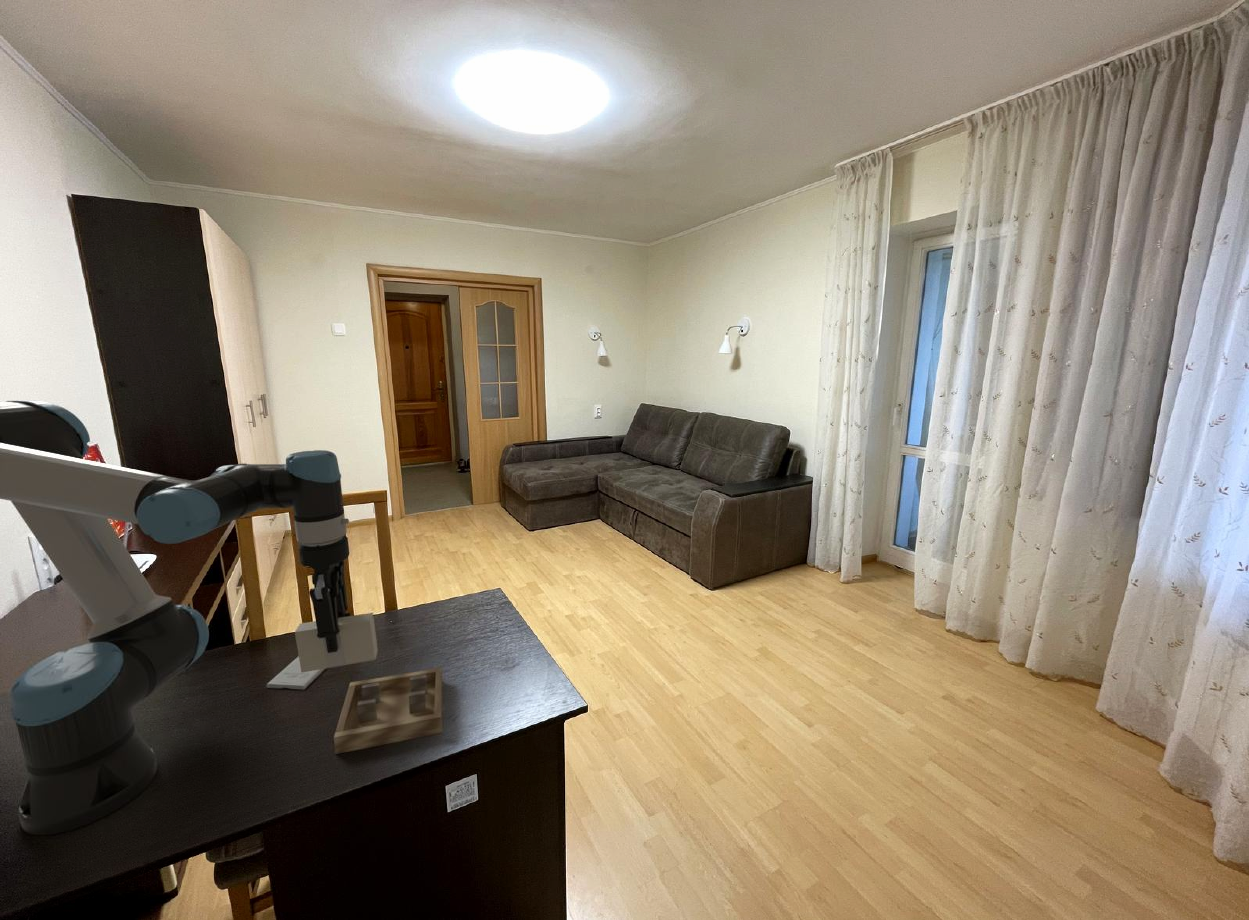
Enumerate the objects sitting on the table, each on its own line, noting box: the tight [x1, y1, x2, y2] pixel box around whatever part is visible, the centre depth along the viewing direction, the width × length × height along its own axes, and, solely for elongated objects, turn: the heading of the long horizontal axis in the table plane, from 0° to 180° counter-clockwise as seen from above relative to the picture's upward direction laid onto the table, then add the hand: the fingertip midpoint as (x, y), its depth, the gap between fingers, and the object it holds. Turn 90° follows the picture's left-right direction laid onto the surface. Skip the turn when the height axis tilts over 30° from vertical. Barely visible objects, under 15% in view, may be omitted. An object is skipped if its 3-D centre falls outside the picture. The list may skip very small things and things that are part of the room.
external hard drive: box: [266, 655, 325, 690], centre depth 112 cm, size 2×8×12 cm
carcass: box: [333, 667, 443, 755], centre depth 99 cm, size 18×16×5 cm
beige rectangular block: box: [294, 612, 379, 673], centre depth 91 cm, size 12×3×8 cm, turn 107°
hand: (338, 658), depth 92 cm, fingers closed on beige rectangular block, 3 cm apart
